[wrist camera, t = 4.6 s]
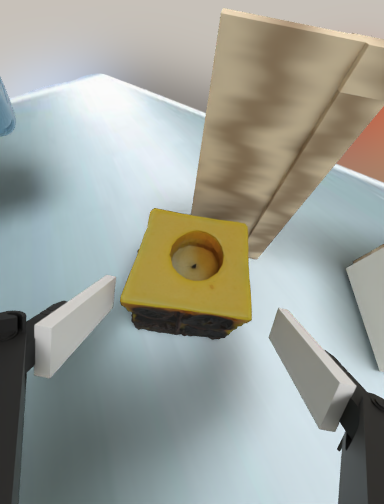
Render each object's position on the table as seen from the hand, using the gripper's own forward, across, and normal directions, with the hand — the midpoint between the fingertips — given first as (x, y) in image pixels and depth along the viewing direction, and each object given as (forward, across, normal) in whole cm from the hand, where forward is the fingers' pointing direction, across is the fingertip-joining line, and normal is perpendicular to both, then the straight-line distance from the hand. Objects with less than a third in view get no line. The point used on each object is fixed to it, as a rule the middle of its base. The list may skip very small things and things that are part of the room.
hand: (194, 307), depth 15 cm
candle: (+9, -1, -4) cm, 10 cm away
